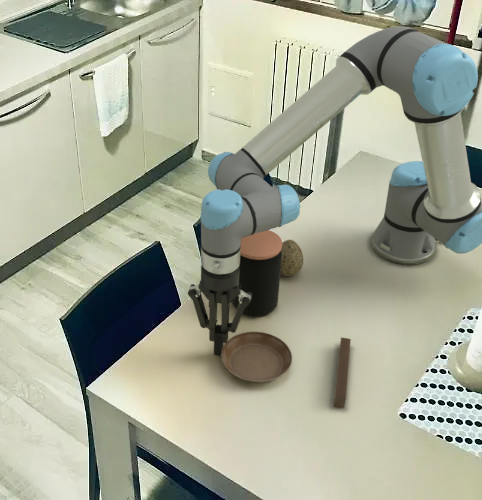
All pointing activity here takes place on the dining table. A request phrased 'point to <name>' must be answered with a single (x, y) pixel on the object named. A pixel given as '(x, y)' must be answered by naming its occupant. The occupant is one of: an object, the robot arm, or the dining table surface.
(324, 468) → the dining table surface
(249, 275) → the coffee jar
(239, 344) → the saucer
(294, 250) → the decorative egg
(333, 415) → the dining table surface
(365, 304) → the dining table surface
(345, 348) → the walnut batten
